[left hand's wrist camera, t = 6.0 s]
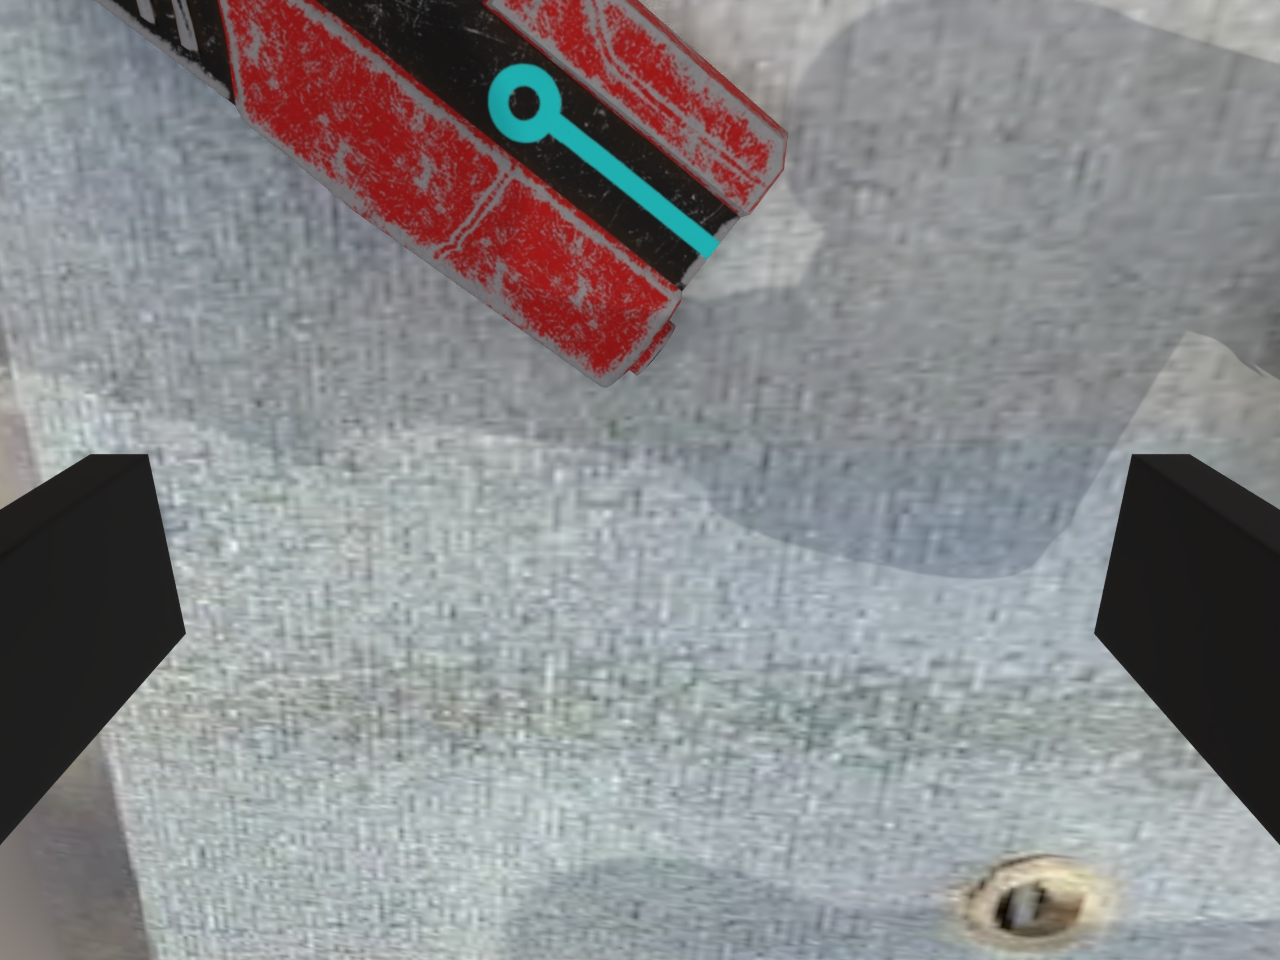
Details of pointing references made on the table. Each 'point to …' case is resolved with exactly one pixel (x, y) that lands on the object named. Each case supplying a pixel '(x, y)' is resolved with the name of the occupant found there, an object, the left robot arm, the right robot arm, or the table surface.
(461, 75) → the gun
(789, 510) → the table surface
